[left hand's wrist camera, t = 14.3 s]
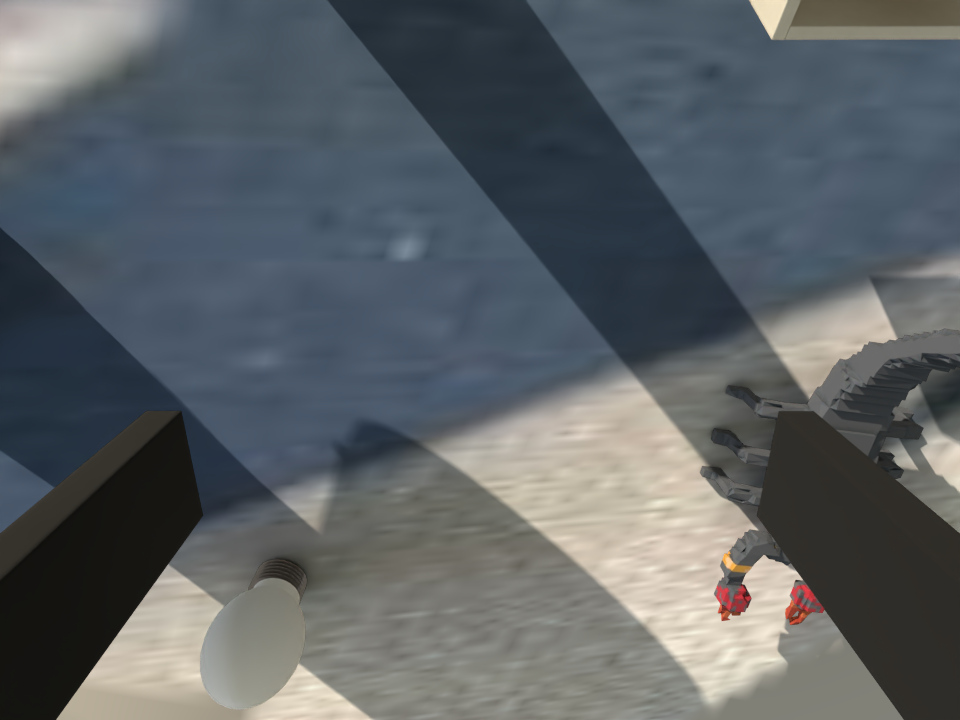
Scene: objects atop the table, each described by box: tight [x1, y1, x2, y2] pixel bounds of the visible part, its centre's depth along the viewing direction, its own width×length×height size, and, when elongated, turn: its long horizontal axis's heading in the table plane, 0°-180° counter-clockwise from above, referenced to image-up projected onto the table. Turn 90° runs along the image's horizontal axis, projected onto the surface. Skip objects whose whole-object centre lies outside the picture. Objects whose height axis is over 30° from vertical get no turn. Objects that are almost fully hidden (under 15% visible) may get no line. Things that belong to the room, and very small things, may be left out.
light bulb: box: [200, 559, 307, 709], centre depth 42 cm, size 7×7×11 cm
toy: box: [700, 329, 960, 625], centre depth 35 cm, size 13×27×18 cm, turn 172°
